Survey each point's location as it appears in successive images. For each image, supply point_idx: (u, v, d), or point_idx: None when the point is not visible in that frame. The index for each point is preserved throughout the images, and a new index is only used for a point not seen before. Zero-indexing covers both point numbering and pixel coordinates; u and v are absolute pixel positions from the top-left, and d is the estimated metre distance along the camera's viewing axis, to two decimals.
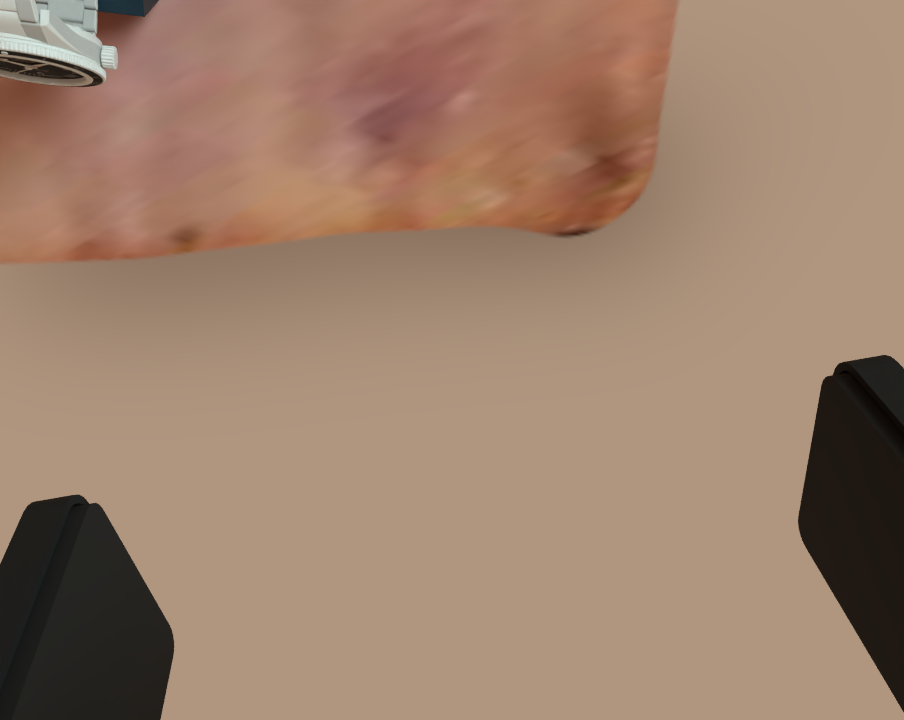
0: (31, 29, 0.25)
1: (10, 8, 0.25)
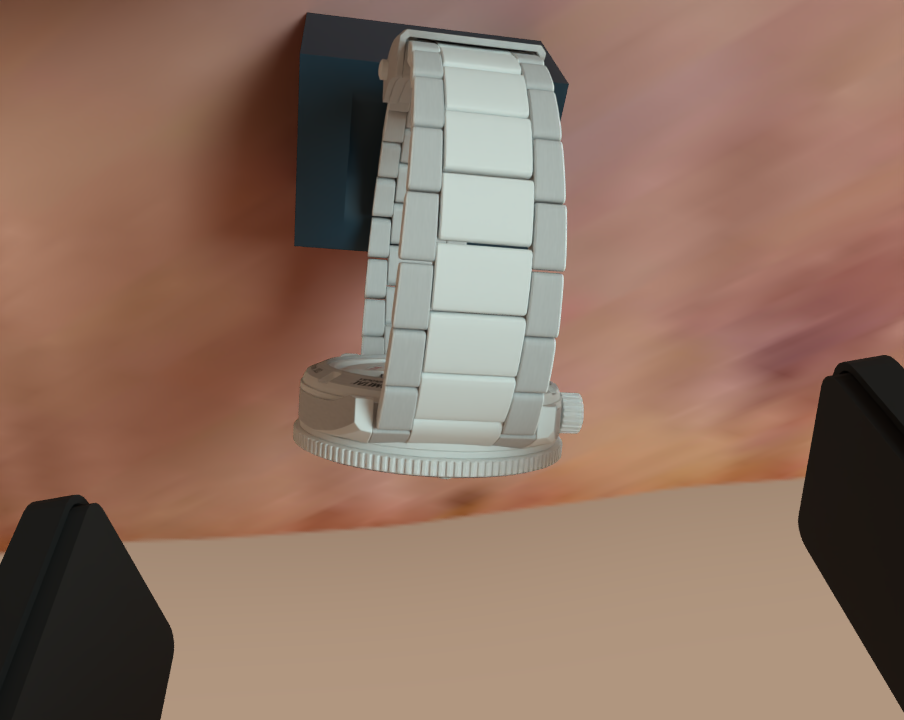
0: (512, 440, 0.12)
1: (493, 419, 0.12)
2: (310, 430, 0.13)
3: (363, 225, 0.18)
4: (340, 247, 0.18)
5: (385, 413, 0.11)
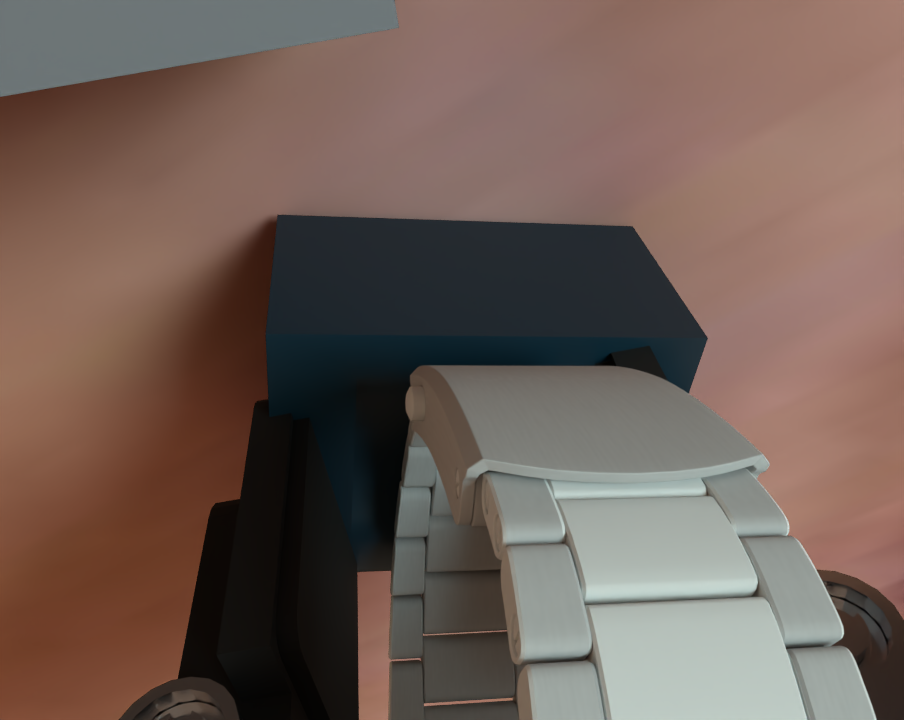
0: None
1: None
2: None
3: (381, 541, 0.12)
4: None
5: None
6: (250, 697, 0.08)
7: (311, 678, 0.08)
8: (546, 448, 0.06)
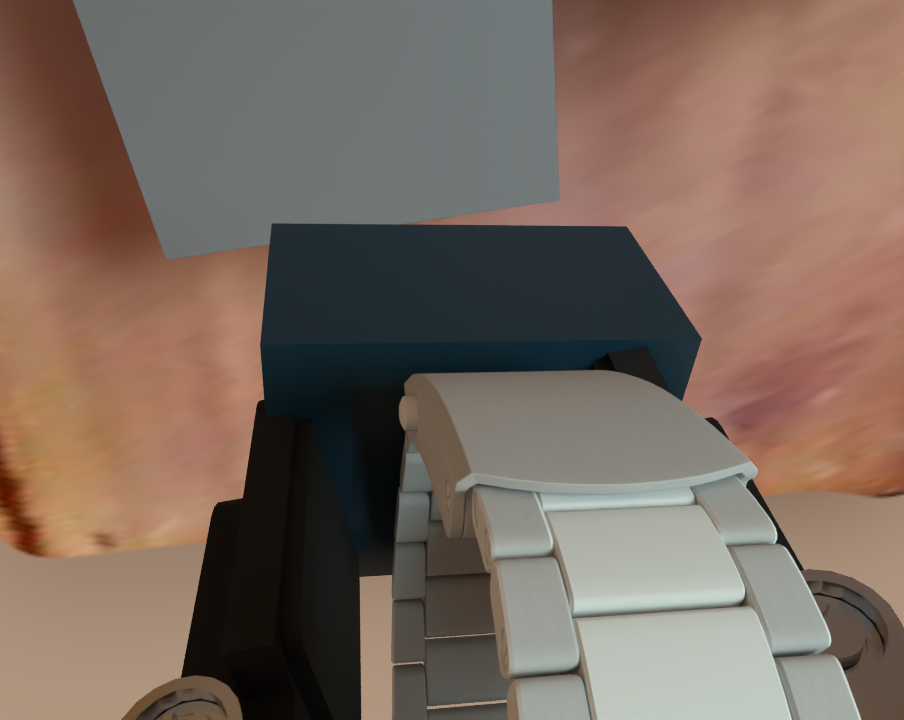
0: None
1: None
2: None
3: (382, 546, 0.12)
4: None
5: None
6: (253, 696, 0.08)
7: (314, 677, 0.08)
8: (535, 460, 0.06)
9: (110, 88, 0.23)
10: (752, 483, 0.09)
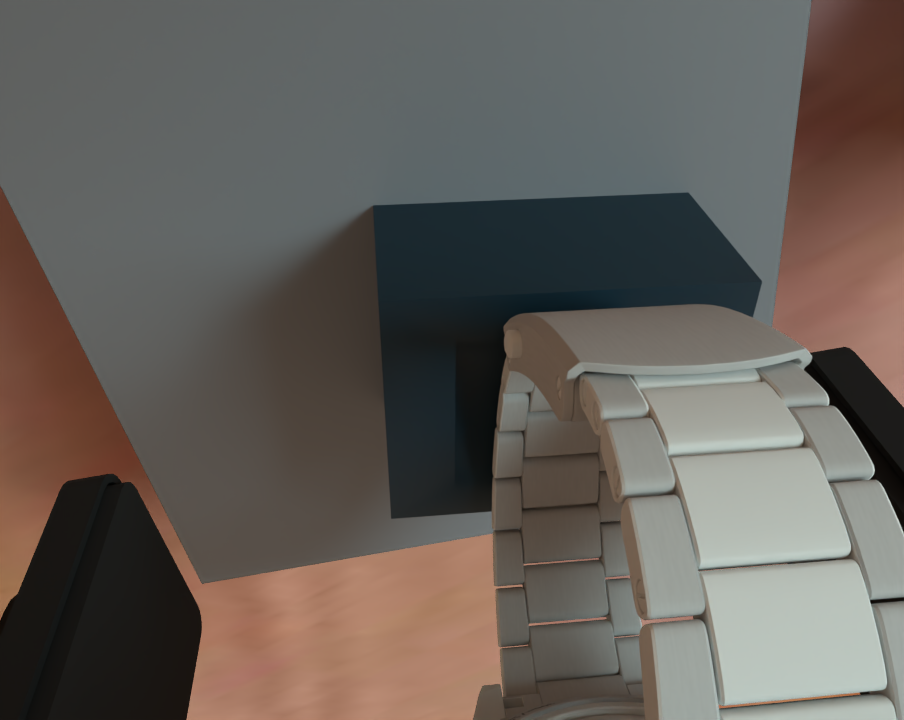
0: None
1: None
2: None
3: (481, 484, 0.13)
4: (452, 512, 0.14)
5: None
6: None
7: None
8: (629, 353, 0.07)
9: (118, 400, 0.15)
10: None
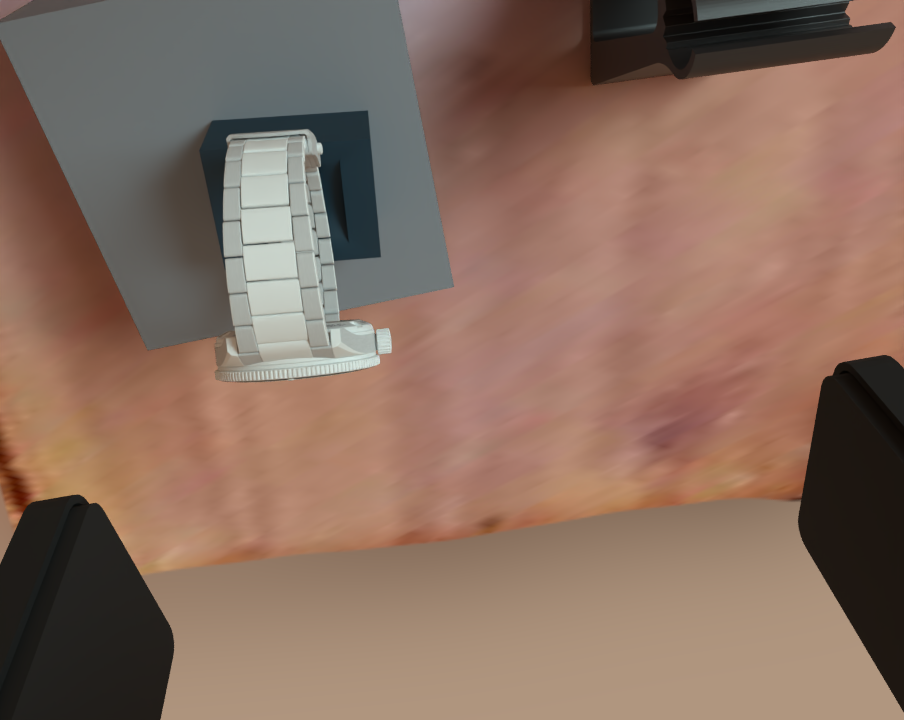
0: (320, 351, 0.22)
1: (300, 338, 0.21)
2: (219, 368, 0.23)
3: None
4: None
5: (239, 342, 0.21)
6: None
7: None
8: (247, 133, 0.22)
9: (95, 230, 0.30)
10: None
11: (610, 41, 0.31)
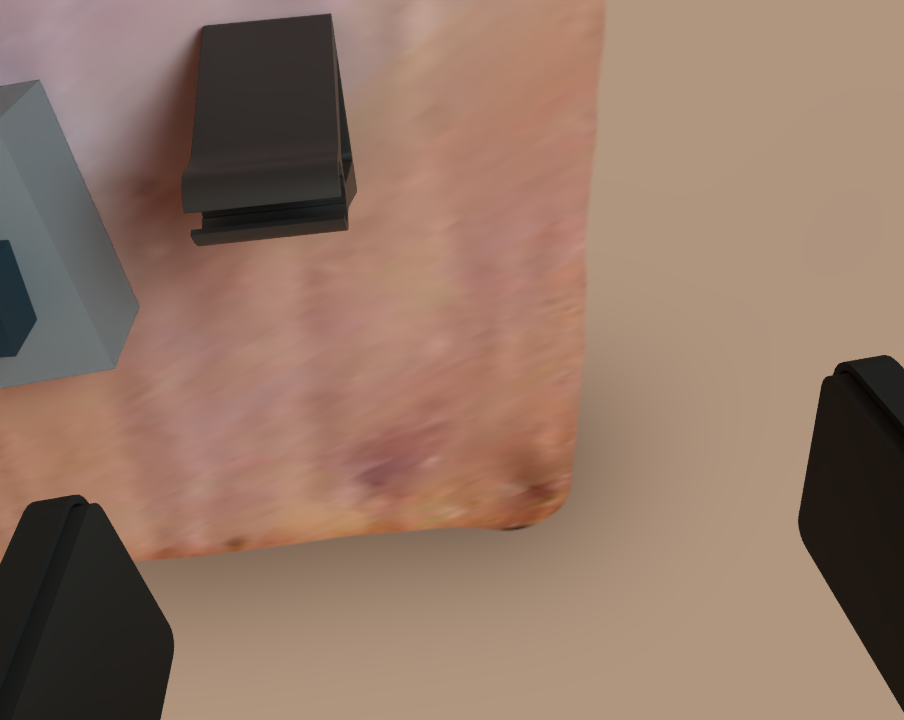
0: None
1: None
2: None
3: None
4: None
5: None
6: None
7: None
8: None
9: None
10: None
11: None
